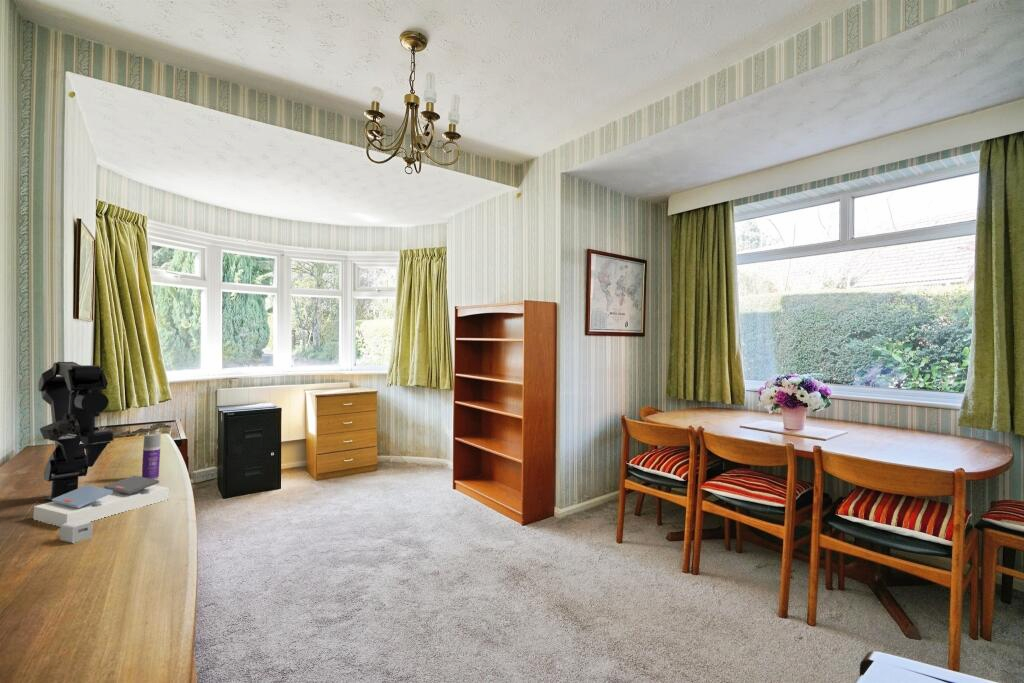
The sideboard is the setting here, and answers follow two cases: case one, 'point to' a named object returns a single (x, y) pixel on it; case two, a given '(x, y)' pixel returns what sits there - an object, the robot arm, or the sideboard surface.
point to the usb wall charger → (76, 531)
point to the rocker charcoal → (131, 484)
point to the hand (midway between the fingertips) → (79, 464)
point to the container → (151, 456)
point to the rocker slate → (82, 496)
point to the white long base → (99, 506)
